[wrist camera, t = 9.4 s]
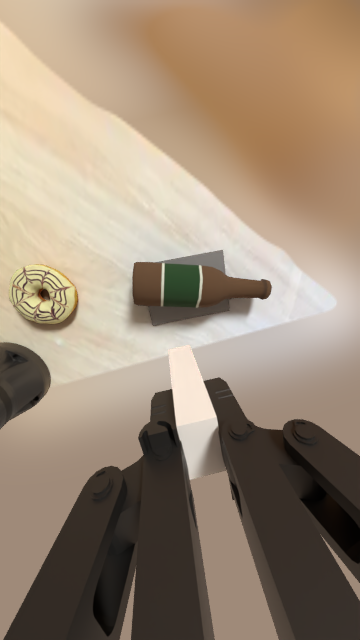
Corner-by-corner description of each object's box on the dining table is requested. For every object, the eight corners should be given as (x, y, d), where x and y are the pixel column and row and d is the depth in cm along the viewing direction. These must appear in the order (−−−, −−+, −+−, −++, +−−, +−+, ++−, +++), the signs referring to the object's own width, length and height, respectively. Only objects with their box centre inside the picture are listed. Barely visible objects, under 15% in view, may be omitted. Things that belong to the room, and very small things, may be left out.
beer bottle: (133, 251, 31) (279, 260, 33) (138, 269, 38) (256, 276, 41) (131, 300, 30) (281, 306, 32) (137, 309, 38) (257, 313, 40)
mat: (153, 324, 41) (153, 325, 40) (139, 265, 37) (139, 265, 37) (228, 309, 41) (229, 310, 41) (222, 250, 38) (222, 249, 37)
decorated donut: (71, 328, 40) (62, 334, 36) (14, 307, 38) (-2, 312, 34) (87, 280, 37) (78, 282, 34) (27, 255, 35) (12, 254, 32)
